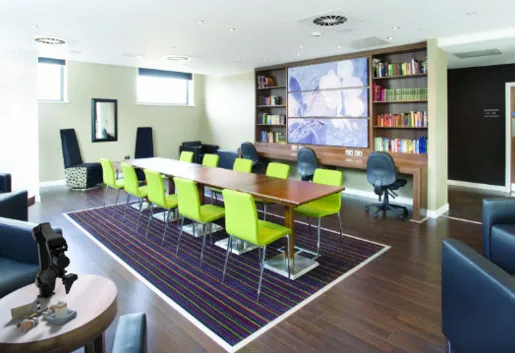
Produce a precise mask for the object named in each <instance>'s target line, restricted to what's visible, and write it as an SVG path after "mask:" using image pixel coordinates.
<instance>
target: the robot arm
mask: <svg viewBox="0 0 515 353" xmlns="http://www.w3.org/2000/svg"><path fill="white" fill-rule="evenodd" d="M31 236H32V238H33V239H34V241H35V242H36V243H37V250H38V251H37V254H38V263H39V265H38V266H39V268H38V270H37V272H36V277H35V280H34V283H35V287H36V288H37V289H38V292H39V294H38V295H36V296H37V298H41V299H47V298H50V297H51V296H53V295H55V294H56V292H55V290H56V282H57V279H61V285H64V291H65V294H66V295H68V294H70V292H71V289H72V287H73V285H74V282H76V281H77V280H79V275H78V273H77V274H76V273H73V272H70V273H68V270H67V269H66V268H68V267H69V266H70V265H71V259H70V258H69V257H68V256H67V255H66V254H65V253H66V252H69V249H68V248H69V245H68V242H67V240H66V238H65V237H64V236H62V234H61V233H56V232H55V230H54V229H53V227H52V225H51V223H50V222H49V221H45V222H40V223H38V224H37V225H35V226H34V227H32V229H31Z"/></svg>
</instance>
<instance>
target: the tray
mask: <svg viewBox="0 0 515 353" xmlns="http://www.w3.org/2000/svg"><path fill="white" fill-rule="evenodd" d="M67 311H68V316H66V317H64V318H63V319H61V320H60V319H56V313H54V314H52V315H50V316H49V317H47V318H46V322H47V323H50V324H54V325H58V326H62V325H63V324H65V323H67V322H68V321H70V320H72V319H74V318H75V317H76V316H78V312H77V310H74V309H69V308H67Z"/></svg>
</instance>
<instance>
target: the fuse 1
mask: <svg viewBox="0 0 515 353" xmlns="http://www.w3.org/2000/svg"><path fill="white" fill-rule="evenodd" d="M21 321H22V320H21ZM21 321H19V322H20V325H21V326H20V330H21V331H24V330H25V331H26V332H27V331H28V330H30V329H31V328H32V327H33V326H32V325H31V320H28V319H26V318H25V320H24V319H23V321H22V322H21ZM25 331H24V332H25Z"/></svg>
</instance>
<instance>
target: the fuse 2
mask: <svg viewBox="0 0 515 353" xmlns="http://www.w3.org/2000/svg"><path fill="white" fill-rule="evenodd" d="M55 304H56V303H53V304H51V305H49V310H52V312H53V314H54V313H55Z"/></svg>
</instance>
